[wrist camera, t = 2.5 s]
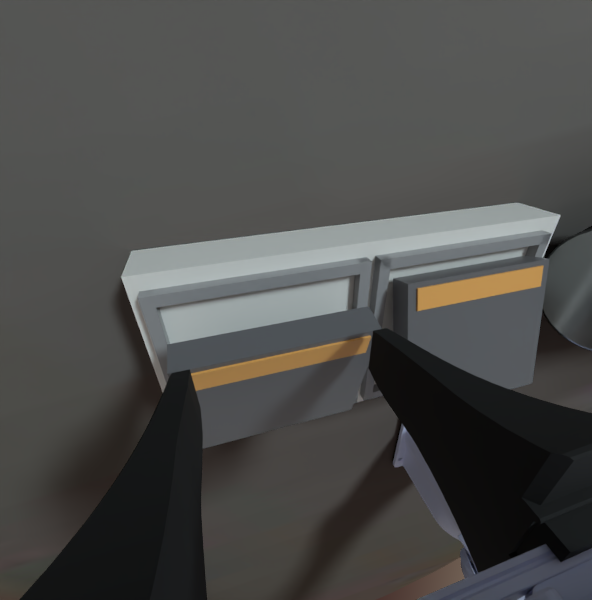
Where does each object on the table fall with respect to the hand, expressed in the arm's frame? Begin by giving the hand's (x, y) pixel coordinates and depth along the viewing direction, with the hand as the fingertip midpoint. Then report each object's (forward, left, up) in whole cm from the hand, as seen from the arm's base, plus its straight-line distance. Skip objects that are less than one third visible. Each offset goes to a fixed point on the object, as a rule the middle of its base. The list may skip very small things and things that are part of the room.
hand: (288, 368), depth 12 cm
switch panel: (-3, -6, -8) cm, 10 cm away
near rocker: (-3, 0, -3) cm, 5 cm away
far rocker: (-3, -12, -3) cm, 12 cm away
